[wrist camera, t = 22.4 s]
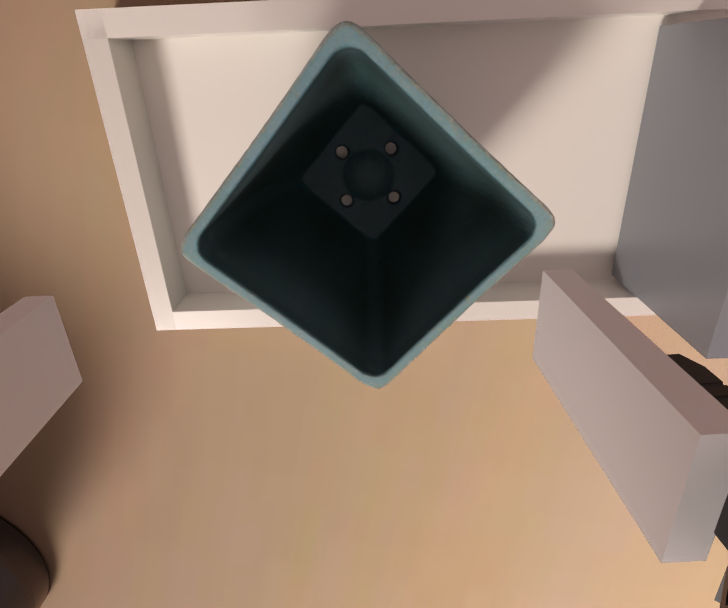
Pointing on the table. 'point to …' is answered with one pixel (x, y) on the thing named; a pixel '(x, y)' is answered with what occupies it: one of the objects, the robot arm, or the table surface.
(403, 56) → the white tray
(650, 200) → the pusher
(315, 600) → the table surface
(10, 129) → the table surface
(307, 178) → the flower pot
